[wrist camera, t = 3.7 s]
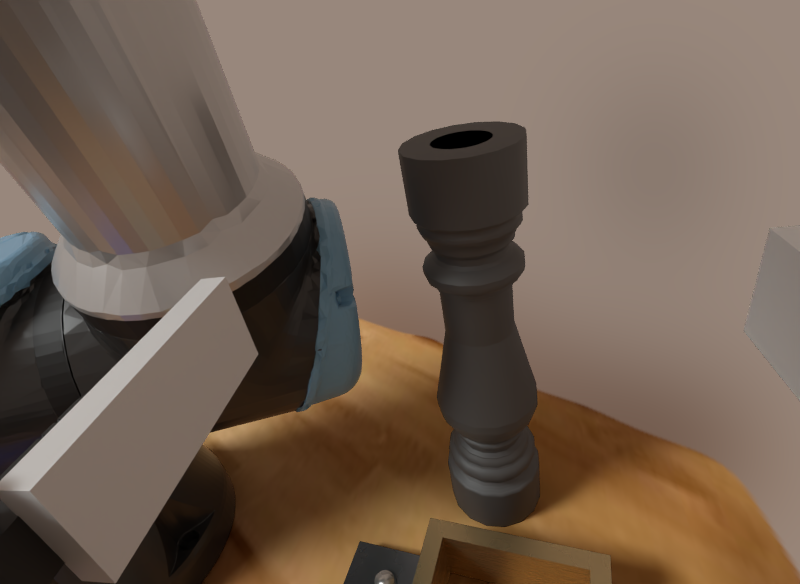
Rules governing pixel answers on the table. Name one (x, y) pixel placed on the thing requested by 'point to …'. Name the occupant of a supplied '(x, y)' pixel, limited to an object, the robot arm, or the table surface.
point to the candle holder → (478, 308)
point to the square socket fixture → (478, 560)
